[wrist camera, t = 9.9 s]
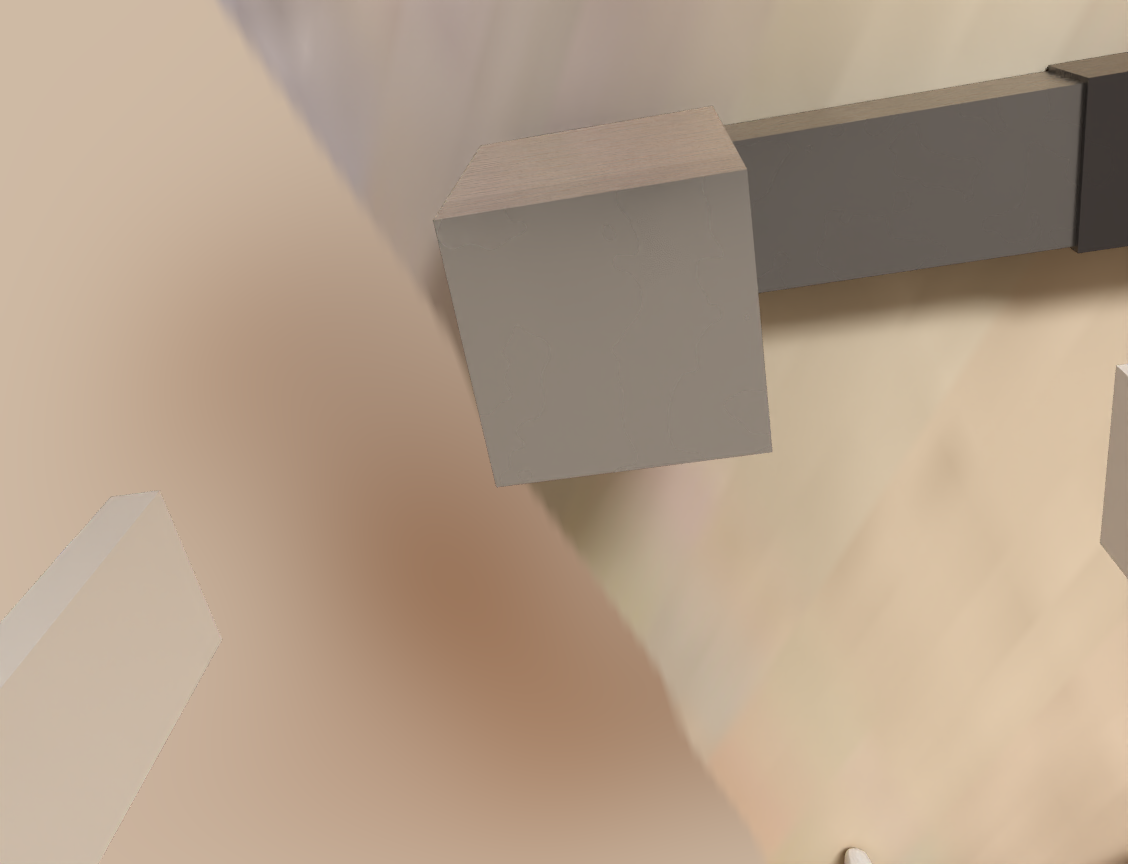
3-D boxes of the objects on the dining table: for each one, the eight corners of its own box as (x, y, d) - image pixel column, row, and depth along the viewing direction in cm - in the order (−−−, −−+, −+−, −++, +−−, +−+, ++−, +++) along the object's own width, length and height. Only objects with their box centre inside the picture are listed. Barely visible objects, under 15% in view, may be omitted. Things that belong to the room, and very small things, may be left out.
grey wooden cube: (480, 145, 27) (432, 220, 20) (712, 105, 27) (747, 169, 20) (524, 356, 30) (496, 487, 23) (734, 326, 30) (772, 452, 22)
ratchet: (535, 309, 32) (517, 392, 26) (503, 151, 30) (477, 203, 24) (1318, 192, 29) (1490, 256, 24) (1350, 6, 27) (1549, 26, 21)
